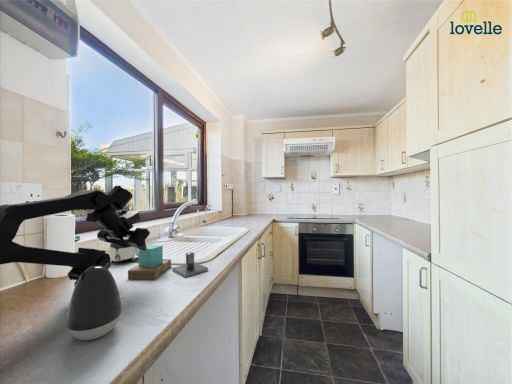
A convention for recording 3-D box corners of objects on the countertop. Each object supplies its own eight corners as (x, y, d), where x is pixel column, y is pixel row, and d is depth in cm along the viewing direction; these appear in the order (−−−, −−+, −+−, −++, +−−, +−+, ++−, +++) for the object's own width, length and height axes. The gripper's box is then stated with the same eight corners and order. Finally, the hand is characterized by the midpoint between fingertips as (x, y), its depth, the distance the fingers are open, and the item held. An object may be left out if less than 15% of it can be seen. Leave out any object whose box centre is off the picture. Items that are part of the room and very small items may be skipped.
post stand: (184, 277, 84) (184, 258, 84) (172, 270, 91) (172, 253, 91) (207, 270, 91) (207, 253, 91) (194, 265, 98) (194, 248, 98)
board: (154, 279, 83) (154, 270, 83) (128, 278, 83) (127, 270, 83) (170, 266, 97) (170, 259, 97) (148, 265, 97) (147, 258, 97)
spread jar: (106, 262, 102) (106, 236, 102) (127, 255, 113) (127, 232, 113) (127, 265, 99) (127, 238, 99) (147, 257, 110) (147, 233, 110)
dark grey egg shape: (130, 319, 57) (130, 258, 57) (104, 347, 47) (104, 273, 47) (89, 319, 57) (88, 259, 57) (53, 349, 46) (52, 274, 46)
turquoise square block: (151, 267, 86) (150, 249, 86) (138, 265, 88) (138, 247, 88) (162, 262, 92) (162, 245, 92) (151, 261, 94) (150, 244, 94)
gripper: (147, 205, 77) (168, 233, 87) (107, 201, 83) (131, 228, 93) (125, 231, 69) (150, 259, 80) (83, 225, 76) (111, 251, 86)
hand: (135, 248), depth 85 cm, fingers open, 9 cm apart
